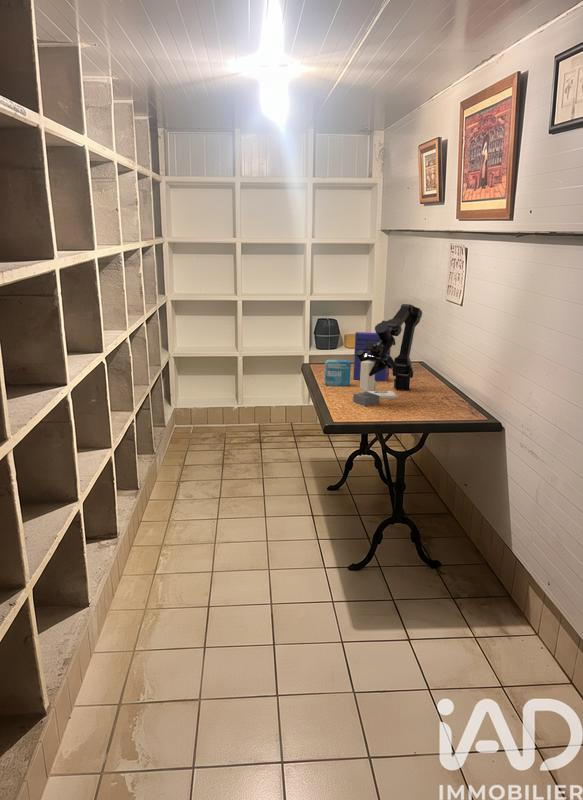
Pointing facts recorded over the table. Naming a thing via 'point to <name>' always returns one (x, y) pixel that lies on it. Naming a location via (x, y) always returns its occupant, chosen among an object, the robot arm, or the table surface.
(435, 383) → the table surface
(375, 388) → the sage cube
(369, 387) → the cream block
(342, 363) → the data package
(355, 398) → the charcoal slab
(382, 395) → the tile
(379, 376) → the cereal box
